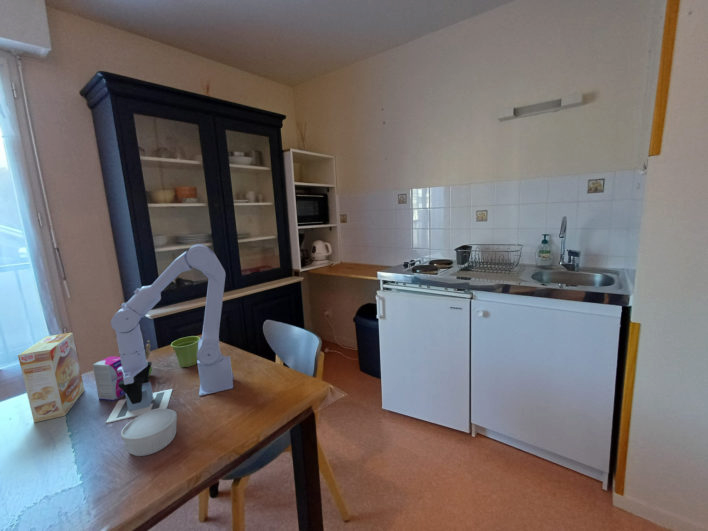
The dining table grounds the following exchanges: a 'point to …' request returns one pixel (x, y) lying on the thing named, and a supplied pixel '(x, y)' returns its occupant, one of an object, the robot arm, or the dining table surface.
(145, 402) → the blue cube
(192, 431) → the dining table surface
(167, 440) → the ramekin
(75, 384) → the coffeecake box
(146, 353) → the snail figurine
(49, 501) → the dining table surface
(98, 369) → the supplement box
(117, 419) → the letter sheet
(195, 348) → the plant pot
